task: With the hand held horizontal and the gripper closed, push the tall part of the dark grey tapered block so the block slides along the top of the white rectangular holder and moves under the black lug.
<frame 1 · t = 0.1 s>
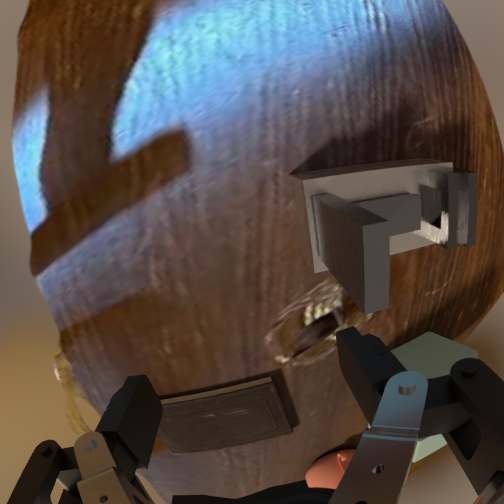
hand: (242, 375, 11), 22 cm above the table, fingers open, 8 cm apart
dark grey tapered block: (396, 233, 21), point 11 cm above the table, slide at 0.0 cm
white rectangular holder: (367, 201, 32), on the table
hardcover book: (216, 417, 43), on the table
teapot: (334, 462, 53), on the table
mint hexagonal prism: (400, 359, 42), on the table
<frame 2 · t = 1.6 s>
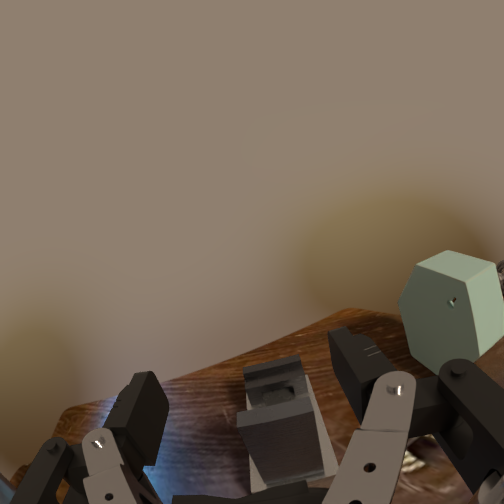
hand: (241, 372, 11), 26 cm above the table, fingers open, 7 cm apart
dark grey tapered block: (279, 414, 26), point 11 cm above the table, slide at 0.0 cm
spaceship: (503, 294, 46), on the table
white rectangular holder: (292, 451, 31), on the table
mint hexagonal prism: (446, 361, 37), on the table
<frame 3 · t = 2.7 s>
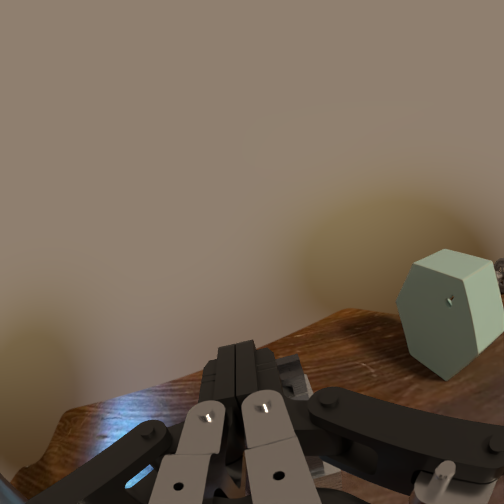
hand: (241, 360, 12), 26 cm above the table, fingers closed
dark grey tapered block: (278, 412, 26), point 11 cm above the table, slide at 0.0 cm
spaceship: (501, 292, 47), on the table
white rectangular holder: (292, 451, 31), on the table
mint hexagonal prism: (445, 359, 38), on the table
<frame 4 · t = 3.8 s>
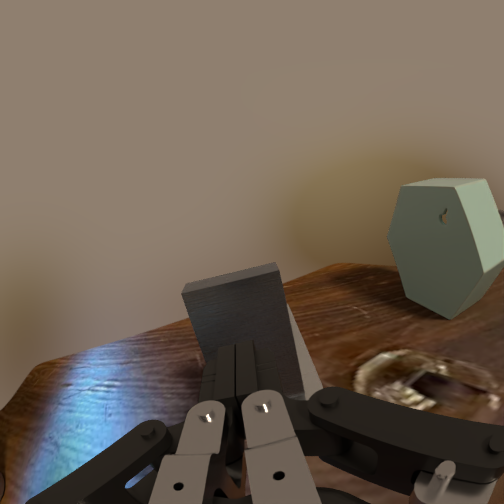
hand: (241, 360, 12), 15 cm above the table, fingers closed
dark grey tapered block: (246, 316, 23), point 11 cm above the table, slide at 0.0 cm
white rectangular holder: (270, 393, 29), on the table
mint hexagonal prism: (446, 301, 36), on the table
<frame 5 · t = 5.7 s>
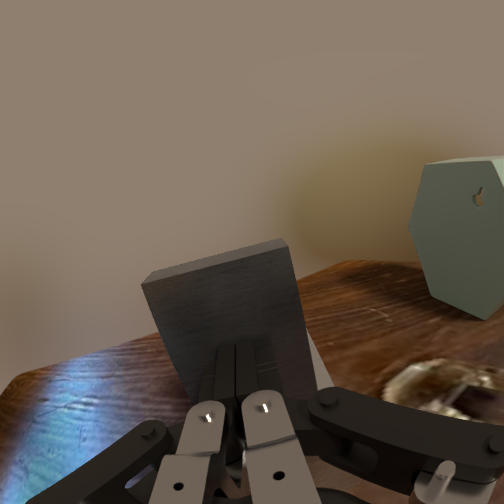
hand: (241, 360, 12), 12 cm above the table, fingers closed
dark grey tapered block: (242, 319, 17), point 11 cm above the table, slide at 1.0 cm, touching gripper
white rectangular holder: (276, 420, 22), on the table
mint hexagonal prism: (476, 299, 28), on the table
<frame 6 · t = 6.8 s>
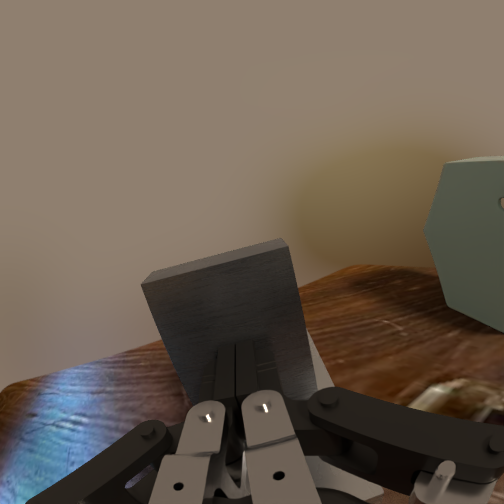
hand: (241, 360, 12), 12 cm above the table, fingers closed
dark grey tapered block: (242, 319, 17), point 11 cm above the table, slide at 4.8 cm, touching gripper
white rectangular holder: (282, 451, 18), on the table
mint hexagonal prism: (494, 309, 25), on the table
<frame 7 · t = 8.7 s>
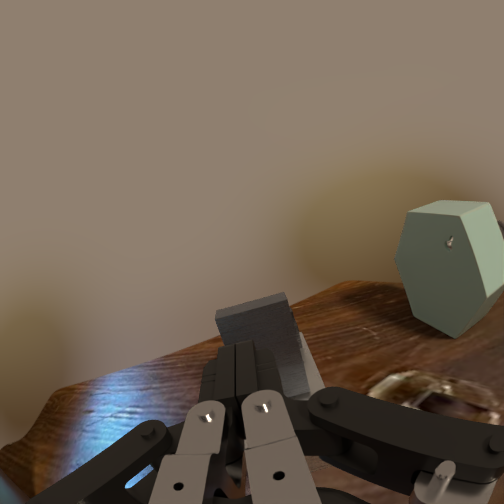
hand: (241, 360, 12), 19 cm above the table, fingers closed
dark grey tapered block: (262, 331, 29), point 11 cm above the table, slide at 4.7 cm
spaceship: (500, 256, 47), on the table
white rectangular holder: (288, 417, 30), on the table
mint hexagonal prism: (451, 319, 36), on the table
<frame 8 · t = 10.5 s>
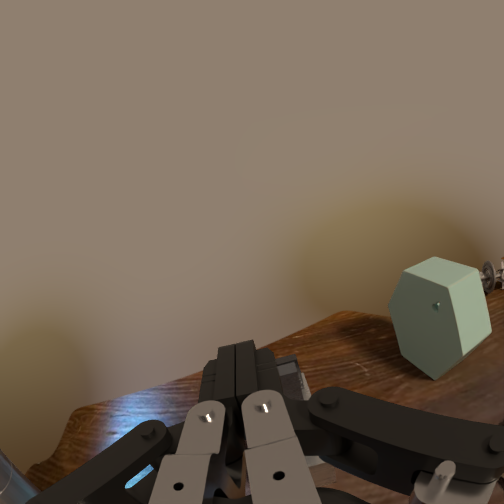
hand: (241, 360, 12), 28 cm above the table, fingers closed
dark grey tapered block: (273, 382, 34), point 11 cm above the table, slide at 4.7 cm
spaceship: (486, 292, 53), on the table
white rectangular holder: (290, 443, 35), on the table
mint hexagonal prism: (434, 360, 41), on the table
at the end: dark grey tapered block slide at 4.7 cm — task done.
